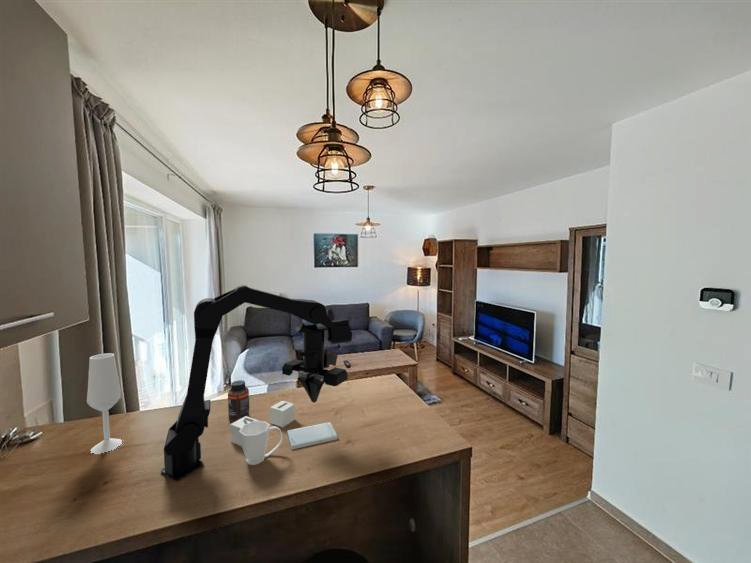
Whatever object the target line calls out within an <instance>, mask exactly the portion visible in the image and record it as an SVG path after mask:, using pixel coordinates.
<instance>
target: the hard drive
mask: <svg viewBox="0 0 751 563" xmlns="http://www.w3.org/2000/svg"><path fill="white" fill-rule="evenodd" d="M286 434H287V438H288V444H289V447H290V450H292V451H293V450H296V449H301V448H305V447H309V446H314V445H317V444H323V443H327V442H333V441H337V440H338V439H339V437H338V434H337V432H336V430H335V429H334V427H333V425H332V423H331V422H330V421H329V422H323V423H319V424H314V425H309V426H303V427H298V428H293V429H289V430H287V431H286Z"/></svg>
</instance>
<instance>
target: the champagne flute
mask: <svg viewBox="0 0 751 563" xmlns="http://www.w3.org/2000/svg"><path fill="white" fill-rule="evenodd" d="M88 362H89V363H88V364H89V365H88V379H87V381H88V382H87V394H86V403H87V405H88V406H89V407H91V408H92V409H94V410H96V411H99V412H102V427H103V428H102V429H103V440H102V441H100V442H99V443H97V444H96V445H94V446H92V448H91V449H90V451H91V452H90V454H92V453H94V454H93V455H100V454H101V453H103V454H105V453H104V452H107V453H109V452H108V451H110V452H112V451H115V450H117V449H118V448H119V447H118V446H120V445H121V444H122V440H123V439H122V438H115V437H114V438H112V437H111V435H110V434H111V433H110V430H111V429H110V414H109V410H110V409H111V408H113V407H114V406H115V405H116V404H117V403H118V402H119V400H120V399H121V397H122V391H121V385H120V380H119V375H118V369H117V364H116V363H117V362H116V357H115V353H111V352H108V353H100V354H95V355H92V356H90V357H89V361H88ZM121 439H122V440H121ZM122 445H123V444H122ZM122 445H121V446H122ZM121 446H120V447H121ZM117 447H118V448H117ZM116 448H117V449H116ZM114 449H115V450H114ZM111 450H112V451H111ZM101 455H102V454H101Z"/></svg>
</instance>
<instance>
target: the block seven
mask: <svg viewBox="0 0 751 563" xmlns="http://www.w3.org/2000/svg"><path fill="white" fill-rule="evenodd" d="M253 421H260V420H259V419H256V418H254V417H250V416H249V417H247V416H245V417H243V418H241V419H239V420H238V421H236V422H231V423H230V442H231V443H233V444H235V445H237V446H239V447H242V443H241V438H240V433H239V431H240V429H241V428H242V426H243V425H245V424H248V423H250V422H253Z"/></svg>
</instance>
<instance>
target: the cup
mask: <svg viewBox="0 0 751 563" xmlns="http://www.w3.org/2000/svg"><path fill="white" fill-rule="evenodd" d="M274 430H277V431H278V432H279V433H280V440H279V442H278V443H277V444H276V446H274V448H273V449H271V450H270V451H269V452H267V453H266V450H267V446H268V441H269V436H270V434H269V433H270V432H272V431H274ZM239 433H240V438H241V443H242V446H241V447H242V448H241V449H242V451H243V455H244V457H245V459H246V460H245V463H247V464H248V465H249V466H255V465H259V464H261V463H262V462H264V460H265V458H268V457H270V456H271V455H272V454H273V453H274V452H275V451H277V450H278V448H280V446H281V445H282V442H283V440H284V437H283V433H282V430H281V428H279V426H277V425H275V426H274V425H273V426H271V423H268V422H267V421H265V420H259V421H253V422H250V423H248V424H245V425H243V426H242V428H241V429H240V431H239Z"/></svg>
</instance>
